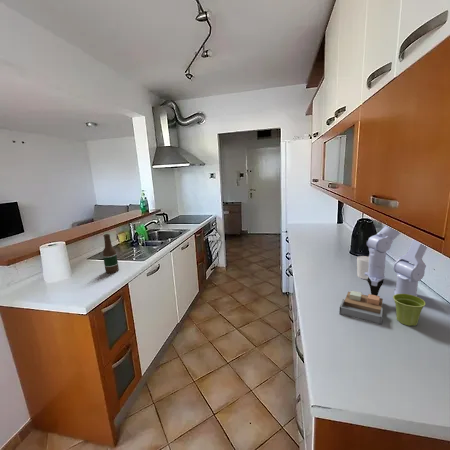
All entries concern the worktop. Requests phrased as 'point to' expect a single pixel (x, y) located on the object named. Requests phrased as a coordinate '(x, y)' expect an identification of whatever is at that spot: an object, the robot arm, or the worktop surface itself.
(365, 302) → the board
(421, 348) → the worktop surface
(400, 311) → the plant pot
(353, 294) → the tile sage
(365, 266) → the white cup
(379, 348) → the worktop surface
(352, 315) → the tray
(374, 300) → the tile terracotta
